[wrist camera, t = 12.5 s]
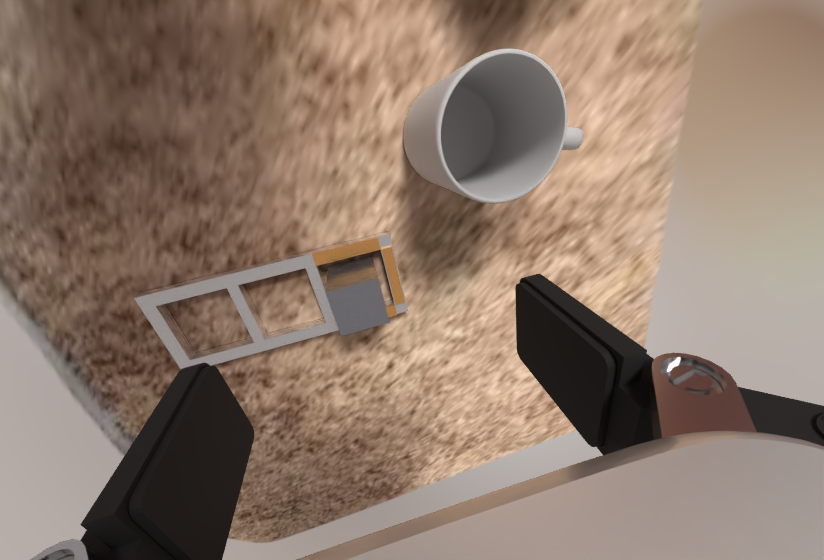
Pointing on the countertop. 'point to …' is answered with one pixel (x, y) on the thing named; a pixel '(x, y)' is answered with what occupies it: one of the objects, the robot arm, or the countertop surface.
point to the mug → (490, 127)
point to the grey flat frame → (234, 282)
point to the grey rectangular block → (355, 296)
